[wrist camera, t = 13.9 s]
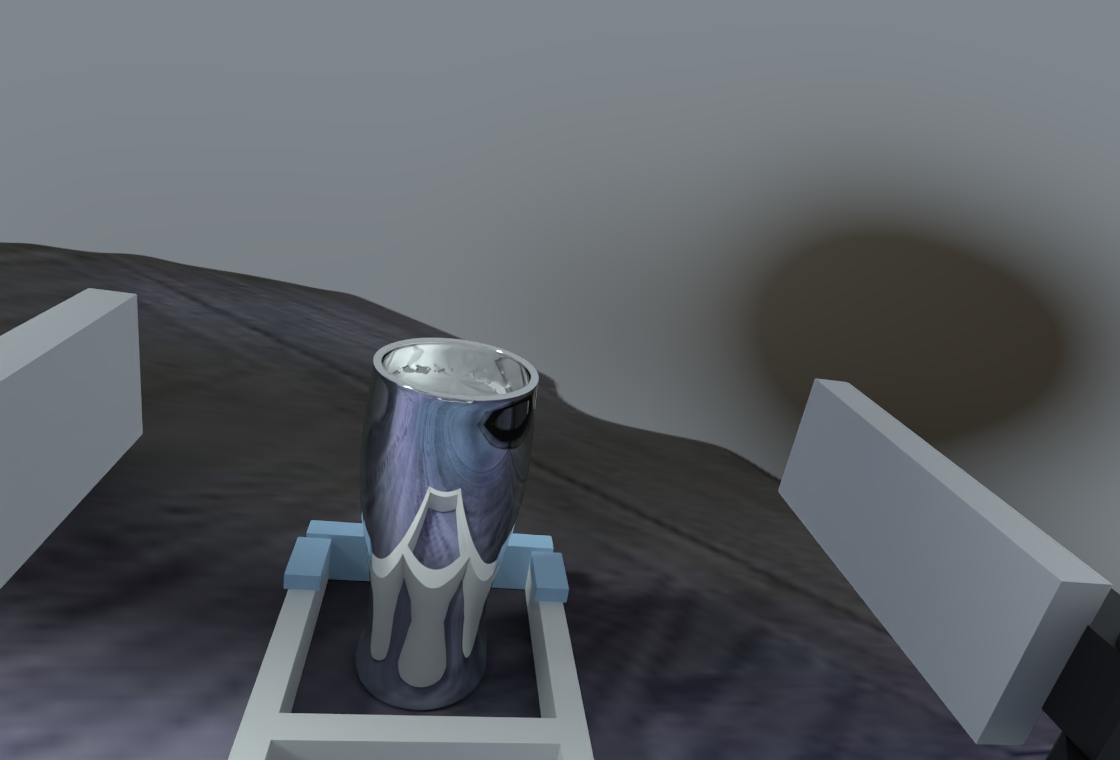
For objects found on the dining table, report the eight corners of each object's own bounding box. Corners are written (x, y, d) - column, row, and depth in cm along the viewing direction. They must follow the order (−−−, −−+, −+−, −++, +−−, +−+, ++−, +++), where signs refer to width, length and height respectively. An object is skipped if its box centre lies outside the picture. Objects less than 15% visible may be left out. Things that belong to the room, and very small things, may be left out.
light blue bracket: (558, 642, 36) (568, 589, 35) (282, 631, 34) (284, 574, 32) (546, 577, 41) (555, 528, 40) (305, 563, 38) (307, 511, 37)
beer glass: (493, 614, 37) (536, 346, 32) (497, 723, 31) (552, 409, 25) (357, 606, 36) (379, 327, 31) (331, 717, 29) (354, 388, 24)
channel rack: (659, 1262, 17) (682, 1207, 16) (55, 1336, 14) (43, 1277, 14) (543, 577, 41) (550, 540, 40) (309, 564, 38) (311, 525, 38)
